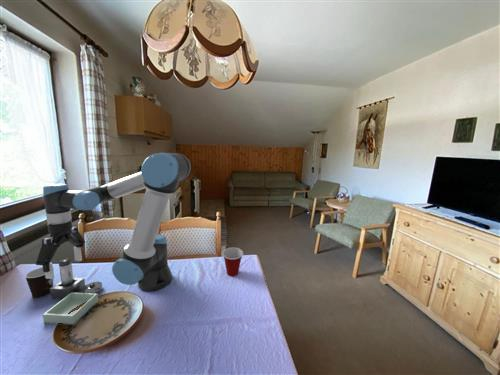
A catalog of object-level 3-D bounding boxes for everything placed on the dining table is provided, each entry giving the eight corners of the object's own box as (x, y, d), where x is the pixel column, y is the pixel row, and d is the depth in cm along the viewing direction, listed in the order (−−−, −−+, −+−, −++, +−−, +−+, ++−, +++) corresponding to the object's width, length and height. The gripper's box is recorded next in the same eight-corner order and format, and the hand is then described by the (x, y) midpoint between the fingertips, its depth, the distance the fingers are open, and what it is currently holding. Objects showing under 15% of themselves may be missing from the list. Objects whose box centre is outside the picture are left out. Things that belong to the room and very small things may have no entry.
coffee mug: (39, 301, 86) (35, 279, 85) (23, 297, 88) (19, 276, 86) (68, 284, 98) (65, 264, 96) (53, 281, 99) (50, 262, 98)
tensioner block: (85, 287, 96) (84, 277, 95) (70, 300, 88) (68, 289, 87) (68, 287, 96) (66, 277, 95) (51, 299, 88) (49, 288, 87)
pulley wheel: (106, 286, 97) (105, 279, 96) (94, 296, 90) (93, 289, 89) (91, 285, 97) (90, 279, 96) (78, 296, 90) (77, 289, 90)
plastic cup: (219, 278, 106) (219, 256, 104) (225, 266, 116) (225, 246, 114) (240, 280, 104) (241, 258, 102) (244, 268, 115) (244, 248, 113)
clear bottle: (77, 290, 94) (73, 258, 91) (69, 296, 90) (65, 263, 87) (68, 290, 94) (64, 258, 91) (60, 296, 90) (55, 262, 87)
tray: (98, 301, 87) (97, 293, 87) (73, 324, 76) (72, 315, 75) (72, 300, 88) (71, 292, 87) (43, 323, 76) (42, 314, 75)
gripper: (76, 212, 99) (80, 254, 102) (16, 232, 74) (25, 286, 78) (92, 213, 98) (95, 255, 102) (37, 233, 74) (45, 287, 77)
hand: (65, 268), depth 90 cm, fingers open, 13 cm apart
